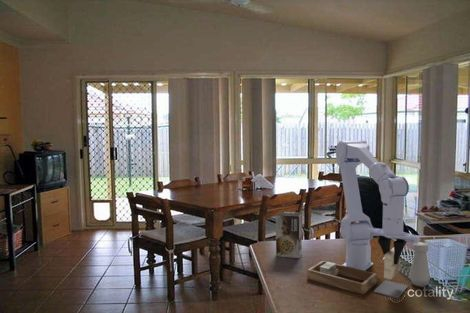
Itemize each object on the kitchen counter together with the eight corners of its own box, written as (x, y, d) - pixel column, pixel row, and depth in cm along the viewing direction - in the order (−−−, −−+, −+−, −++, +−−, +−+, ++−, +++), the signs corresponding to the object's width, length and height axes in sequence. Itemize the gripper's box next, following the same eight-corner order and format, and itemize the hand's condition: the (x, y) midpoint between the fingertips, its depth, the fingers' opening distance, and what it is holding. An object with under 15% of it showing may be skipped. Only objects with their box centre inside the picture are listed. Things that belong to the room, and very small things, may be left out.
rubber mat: (384, 281, 124) (385, 280, 124) (408, 287, 120) (408, 285, 120) (373, 292, 116) (373, 290, 116) (397, 298, 112) (397, 297, 112)
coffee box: (302, 253, 151) (302, 212, 150) (299, 258, 145) (299, 216, 144) (278, 250, 154) (278, 210, 152) (275, 256, 148) (275, 214, 146)
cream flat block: (392, 269, 121) (393, 247, 121) (399, 271, 120) (400, 249, 120) (383, 277, 115) (384, 254, 115) (390, 279, 114) (391, 256, 113)
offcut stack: (328, 272, 133) (328, 260, 132) (338, 274, 130) (338, 263, 130) (318, 278, 127) (318, 266, 127) (328, 281, 125) (328, 269, 125)
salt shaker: (420, 289, 118) (422, 247, 117) (404, 282, 123) (406, 242, 122) (433, 285, 121) (435, 244, 119) (418, 278, 126) (419, 239, 124)
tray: (322, 268, 135) (322, 260, 135) (376, 282, 123) (376, 273, 123) (307, 278, 127) (307, 269, 126) (363, 294, 115) (363, 284, 115)
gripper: (363, 216, 118) (362, 260, 119) (415, 224, 108) (413, 272, 110) (372, 212, 123) (371, 254, 124) (422, 219, 114) (420, 264, 115)
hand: (391, 262), depth 117 cm, fingers closed on cream flat block, 2 cm apart
